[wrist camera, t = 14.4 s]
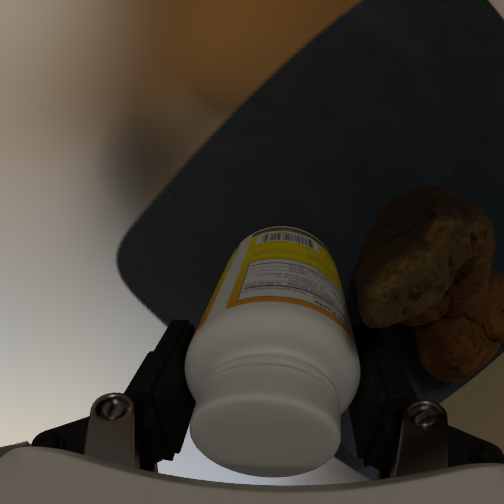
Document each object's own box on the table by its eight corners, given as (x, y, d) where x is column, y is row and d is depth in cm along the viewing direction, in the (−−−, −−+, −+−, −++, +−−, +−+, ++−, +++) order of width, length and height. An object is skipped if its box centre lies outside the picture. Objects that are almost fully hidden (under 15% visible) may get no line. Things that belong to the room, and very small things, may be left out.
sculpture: (584, 166, 3) (572, 447, 6) (454, 105, 12) (532, 316, 15) (269, 335, 8) (436, 497, 11) (323, 188, 16) (435, 362, 19)
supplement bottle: (264, 333, 18) (235, 497, 9) (208, 255, 17) (117, 403, 7) (354, 292, 16) (395, 460, 7) (303, 201, 15) (315, 331, 6)
